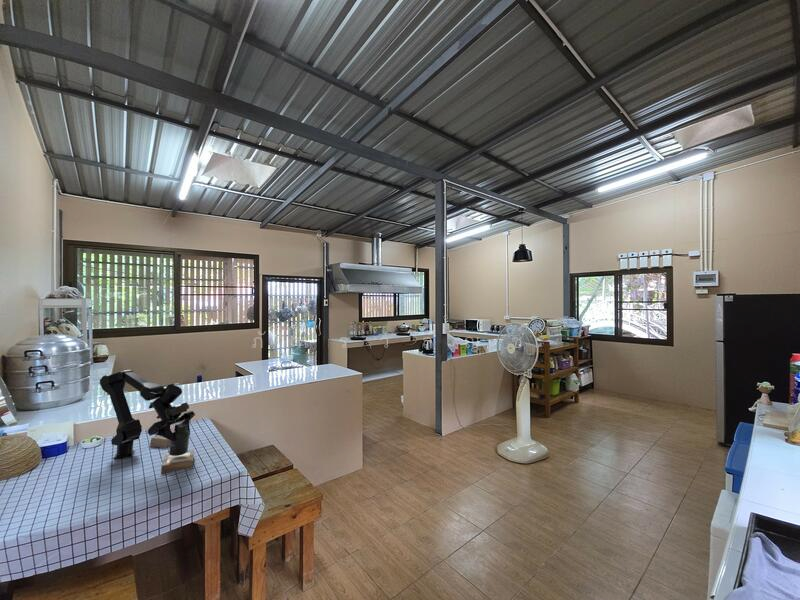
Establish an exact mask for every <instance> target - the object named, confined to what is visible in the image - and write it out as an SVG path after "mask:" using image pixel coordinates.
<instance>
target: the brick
mask: <svg viewBox="0 0 800 600" xmlns="http://www.w3.org/2000/svg"><path fill="white" fill-rule="evenodd" d="M170 429H171V431H172V433H173V432H174V429H175V426H173V427H170ZM169 446H170V440H169V439H167V438H165V437H162V436H159V435H156V434H155V435H154V436H153V437H151V438H150V441H149V447H152V448H166V447H169Z"/></svg>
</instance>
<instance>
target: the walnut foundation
mask: <svg viewBox="0 0 800 600" xmlns="http://www.w3.org/2000/svg"><path fill="white" fill-rule="evenodd" d="M194 459H195V450H191V451H190V450H189V451H187V452H186V453H185V454H183V455H179V456H171V455H170V454H166V455H164V457H163V460H162V463H161V466H160V467H161V469H160V470H161V471H160V474H163V473H169V472H175V471H181V470H186V469H192V468H193V467H194Z"/></svg>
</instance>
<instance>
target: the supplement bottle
mask: <svg viewBox="0 0 800 600" xmlns="http://www.w3.org/2000/svg"><path fill="white" fill-rule="evenodd" d="M174 427H175V429H174V432H173V435H174V436H175V438H176V441H175V442H173V441H171V440H170V445H169V450H168V455H171V456H179V455H183V454H185V453H186V452H189V443H190V442H189V441H190V435H191V431H190V432H189V431H188V430H187V429H188V425H187V424H180V423H178V424H176V425H175V426H174ZM189 434H190V435H189Z"/></svg>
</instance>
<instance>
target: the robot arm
mask: <svg viewBox="0 0 800 600" xmlns="http://www.w3.org/2000/svg"><path fill="white" fill-rule="evenodd" d="M126 383H127V384H128V385H130V386H131V387H132V388H134V389H135V390H137V391H138V392H139V395H140V397H141V398H142V399H143V400H144V401H151V402H150V403H149V406H148V409H149V410H150V409H154V411H155V412H156V414H157V416H156V418H157V420H158V419H160V420H159V421H156V422H153V424H152V425H151V426H150V427H149V428H148V429H147V434H148V435H149V437H150V436H153V435H154V436H156V435H159V436H162V437H165V438H167V439H169V440H171V441H173V442H175V441H176V438H175V436H174V435H173V433H172V431H171V429H170V428H171V426H172V425H175V424H177V423H178V424H187V425H188V429H187V430H188V431H189V432H190V434H189V436H190V435H191V429H190V421H191V420H192V419H193V418H194V417H195V416H196V413H195V412H194V411H193V410H190V411H188V410H189V408H190V406H189V404H188V402H183V403H181V404H180V405H179V406H175V405H172V403H174V402H175V401H176V400H177V399H178V398H179V397H180V396H181V395H182V394H183V389H182V387H179V386H178V385H176V384H174V383H170V384H168V385H166V387H164V386H163V385H161V384H159V383H154V382H149V381H148V380H147V379H145V378H143V377H142V376H140V375H138V374H137V373H135V372H134V370H133V369H126V370H120V371H118V372H116V373H111V374H105V375H102V377H101V378H100V379H99V385H100V386H101V389H102V391H103V392H105V393H107V394H108V395H109V398H110V401H111V404H112V407H113V410H114V413H115V416H116V419H117V421H118V425H117V427H116V431H115V432H116V434H115V436H113V438H111V439H110V441H111V445H112V446H116V453H115V455H114V457H113V460H117V459H125V458H130V457H133V456H134V453H135V451H136V450H134V441H136V440H139V439H140V436H141V435H142V430H143V429H142V427H143V426H142V424H141V421H140V419H139V418H137V419H135V418H134V417H133V416H132V412H131V410H130V406H129V403H128V401H127V397H126V395H125V392H124V388H125V385H126Z"/></svg>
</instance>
